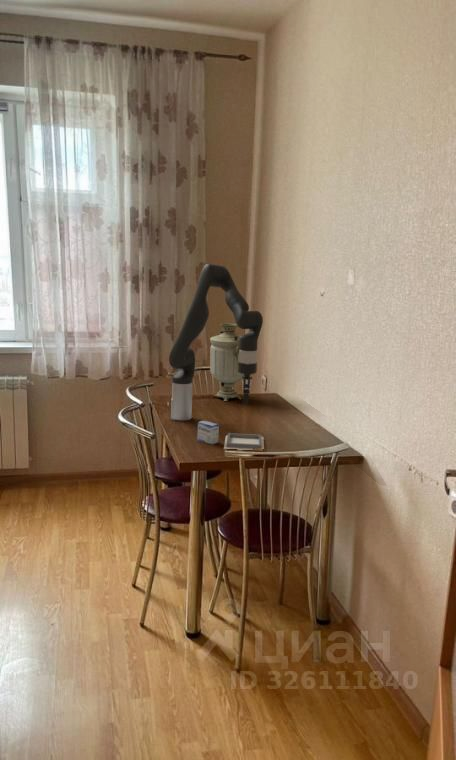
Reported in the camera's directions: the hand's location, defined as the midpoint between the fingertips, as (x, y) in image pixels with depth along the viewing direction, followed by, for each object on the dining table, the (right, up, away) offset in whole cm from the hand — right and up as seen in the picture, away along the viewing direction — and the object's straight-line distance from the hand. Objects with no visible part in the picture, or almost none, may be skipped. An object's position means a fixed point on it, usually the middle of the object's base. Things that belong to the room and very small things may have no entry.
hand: (246, 400), depth 246 cm
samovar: (-5, -2, +81) cm, 81 cm away
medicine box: (-16, -18, +5) cm, 24 cm away
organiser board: (-1, -18, +4) cm, 19 cm away
